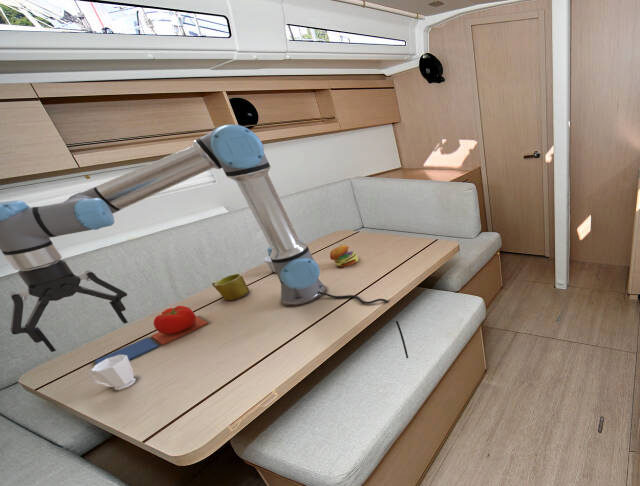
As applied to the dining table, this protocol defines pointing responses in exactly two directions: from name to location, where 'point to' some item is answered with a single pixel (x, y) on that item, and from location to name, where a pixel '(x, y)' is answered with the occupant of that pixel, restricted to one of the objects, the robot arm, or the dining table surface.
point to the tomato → (174, 320)
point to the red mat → (169, 337)
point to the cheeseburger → (343, 256)
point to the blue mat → (133, 350)
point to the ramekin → (270, 263)
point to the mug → (231, 287)
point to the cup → (114, 372)
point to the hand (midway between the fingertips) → (90, 335)
